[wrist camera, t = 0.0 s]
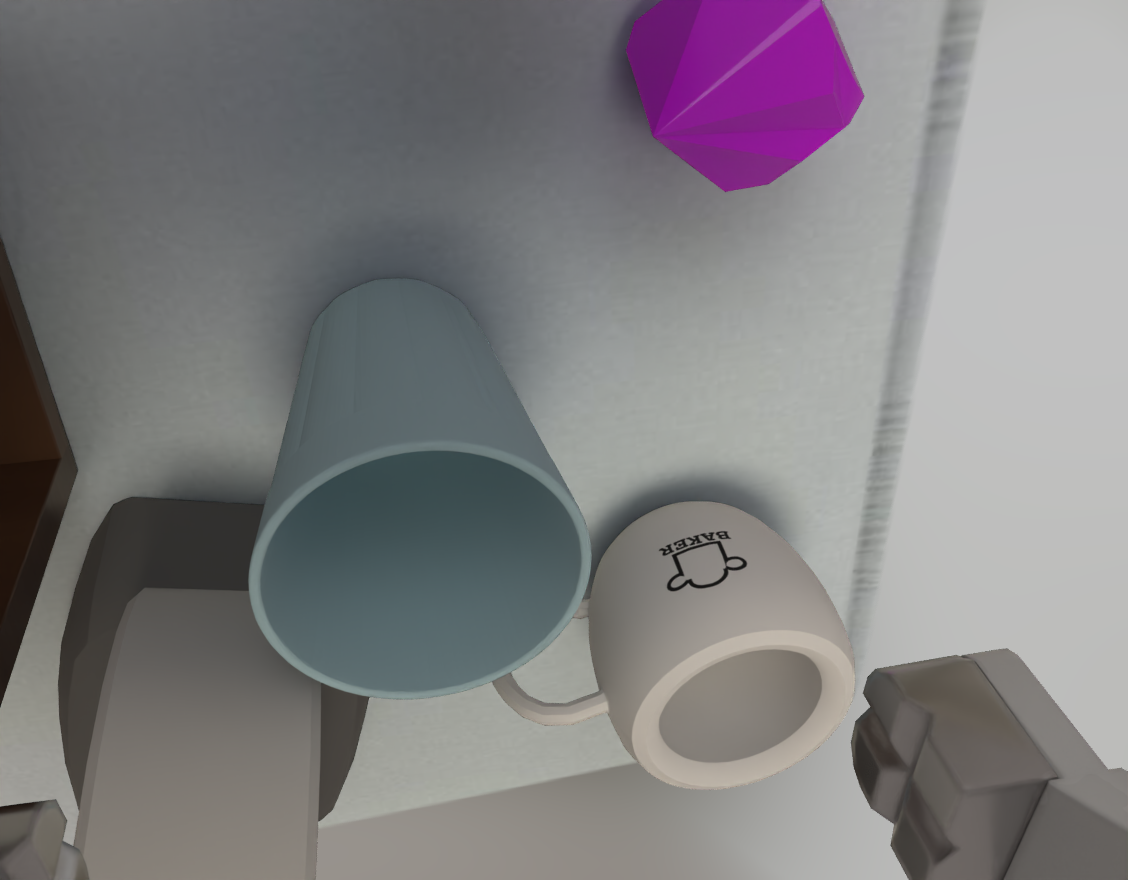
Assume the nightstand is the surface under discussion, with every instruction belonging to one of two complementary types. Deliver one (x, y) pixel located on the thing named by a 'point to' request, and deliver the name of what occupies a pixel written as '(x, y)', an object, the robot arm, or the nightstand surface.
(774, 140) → the crystal
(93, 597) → the alarm clock
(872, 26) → the nightstand surface
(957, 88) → the nightstand surface
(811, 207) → the nightstand surface
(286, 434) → the cup
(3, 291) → the rack
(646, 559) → the mug
